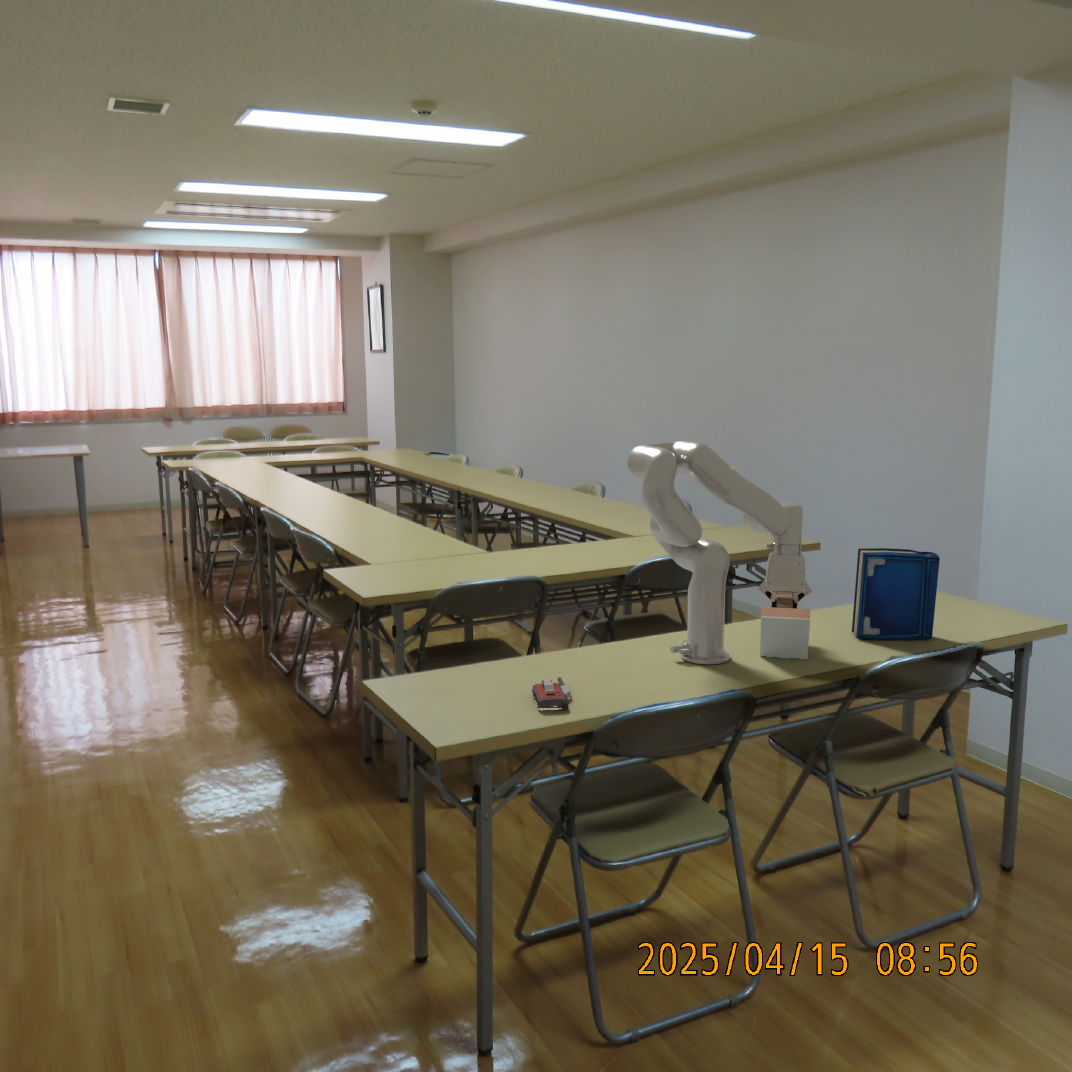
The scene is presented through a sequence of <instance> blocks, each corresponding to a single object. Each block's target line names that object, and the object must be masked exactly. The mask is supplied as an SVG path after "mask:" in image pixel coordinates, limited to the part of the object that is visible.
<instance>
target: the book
mask: <svg viewBox="0 0 1072 1072" xmlns="http://www.w3.org/2000/svg"><path fill="white" fill-rule="evenodd" d="M940 559H941V557H940V556H939V555H938V554H937V553H936V552H932V551H917V550H912V549H909V548H908V549H907V548H906V549H903V548H888V547H878V548H877V547H874V548H867V547H866V548H858V550H857V563H856V574H855V586H854V598H853V599H854V600H853V613H852V622H851V623H852V624H851V625H852V626H851V633H853V636H856V637H855V638H856V639H866V640H867V639H869V640H878V641H879V640H880V641H911V640H915V639H916V640H917V639H918V640H931V639H933V635H934V634H933V633H934V632H933V631H934V630H933V629H934V621H935V612H936V604H937V603H936V601H937V591H938V581H939V580H938V579H939V571H940V570H939V569H940V561H941V560H940Z"/></svg>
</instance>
